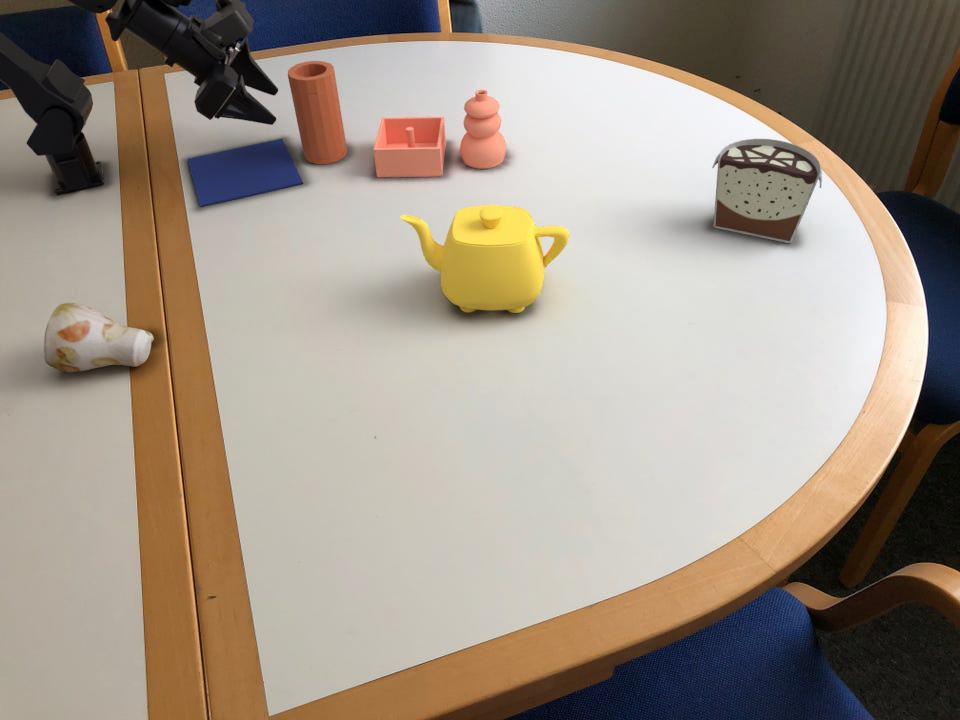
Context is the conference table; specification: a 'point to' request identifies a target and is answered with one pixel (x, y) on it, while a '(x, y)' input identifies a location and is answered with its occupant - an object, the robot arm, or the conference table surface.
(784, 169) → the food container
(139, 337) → the fruit patterned vase
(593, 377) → the conference table surface
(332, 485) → the conference table surface
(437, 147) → the pottery
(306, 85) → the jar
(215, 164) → the napkin
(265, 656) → the conference table surface
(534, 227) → the teapot
